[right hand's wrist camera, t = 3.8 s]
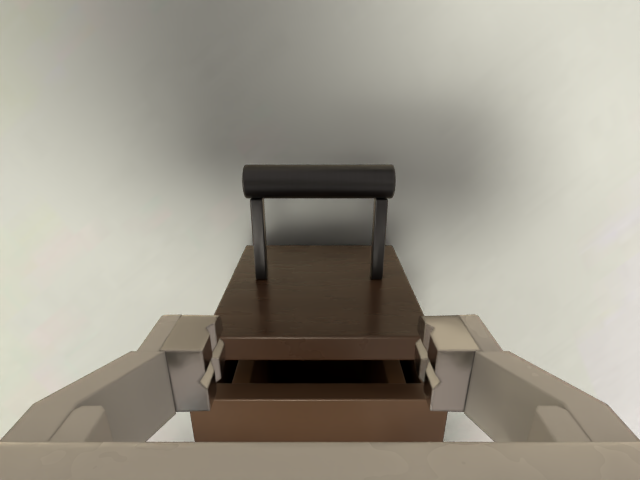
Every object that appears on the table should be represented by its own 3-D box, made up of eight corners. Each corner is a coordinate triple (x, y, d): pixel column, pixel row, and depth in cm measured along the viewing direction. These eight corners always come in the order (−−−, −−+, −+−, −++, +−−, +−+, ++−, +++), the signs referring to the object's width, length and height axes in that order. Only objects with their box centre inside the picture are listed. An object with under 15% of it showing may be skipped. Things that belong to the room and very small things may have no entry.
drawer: (238, 150, 22) (183, 193, 13) (399, 150, 22) (453, 193, 13) (262, 449, 31) (238, 597, 22) (377, 449, 31) (400, 597, 22)
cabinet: (242, 270, 26) (187, 399, 15) (396, 270, 26) (450, 399, 15) (258, 469, 33) (229, 653, 22) (380, 469, 33) (409, 654, 22)
